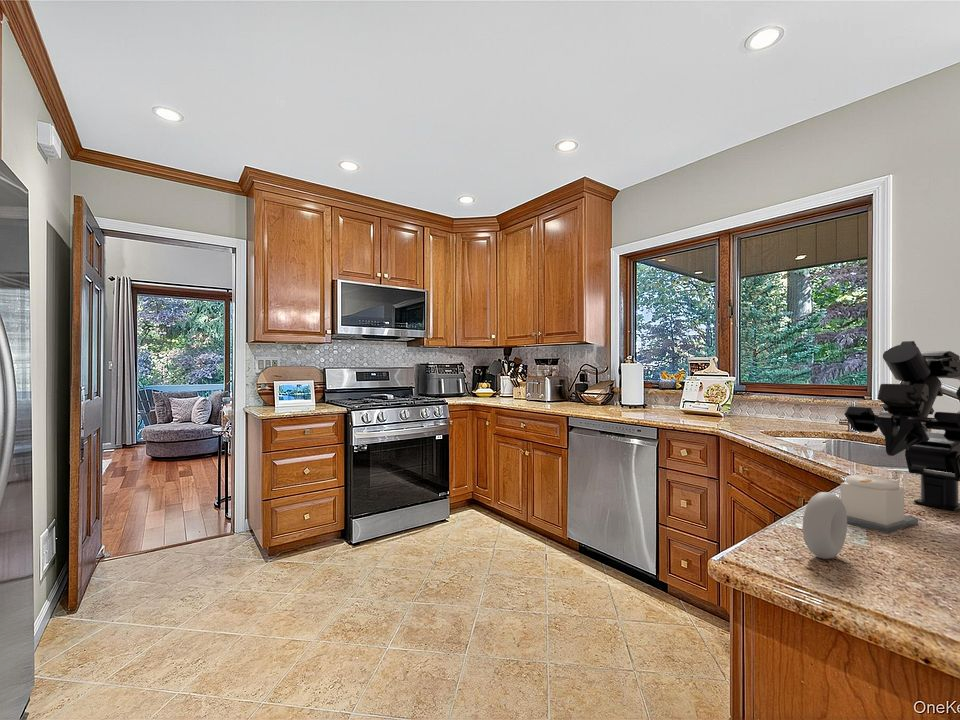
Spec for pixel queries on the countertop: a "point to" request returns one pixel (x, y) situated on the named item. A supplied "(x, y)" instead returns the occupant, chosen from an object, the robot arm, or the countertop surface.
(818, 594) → the countertop surface
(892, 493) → the knob
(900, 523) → the plate
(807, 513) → the donut
